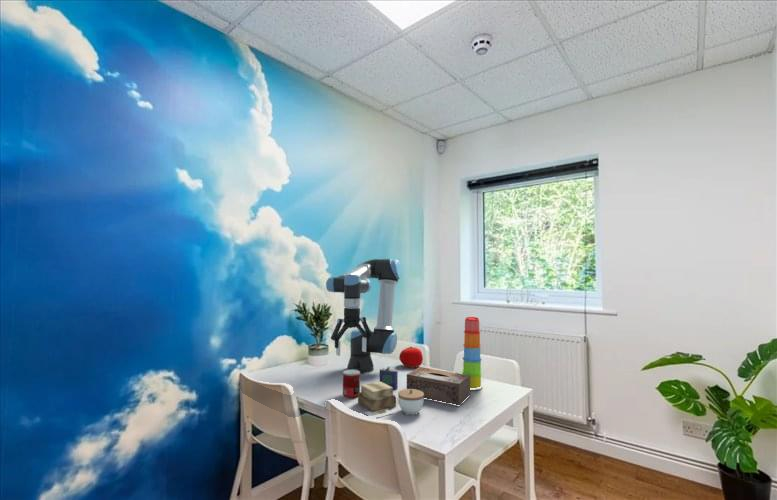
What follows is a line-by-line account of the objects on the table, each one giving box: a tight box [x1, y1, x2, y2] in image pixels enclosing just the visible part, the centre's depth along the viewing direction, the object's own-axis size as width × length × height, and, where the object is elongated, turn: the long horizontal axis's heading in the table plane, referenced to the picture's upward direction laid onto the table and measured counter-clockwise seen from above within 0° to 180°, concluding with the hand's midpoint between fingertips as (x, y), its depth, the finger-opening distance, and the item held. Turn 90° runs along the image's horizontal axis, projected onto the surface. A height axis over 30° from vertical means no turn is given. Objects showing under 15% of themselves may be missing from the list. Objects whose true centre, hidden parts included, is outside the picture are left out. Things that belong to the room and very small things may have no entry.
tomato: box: [398, 346, 424, 368], centre depth 220 cm, size 12×14×12 cm
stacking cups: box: [461, 316, 483, 388], centre depth 185 cm, size 10×10×35 cm
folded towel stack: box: [357, 380, 397, 412], centre depth 161 cm, size 12×12×8 cm
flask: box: [379, 366, 399, 391], centre depth 182 cm, size 9×3×11 cm, turn 74°
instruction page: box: [364, 409, 395, 418], centre depth 152 cm, size 10×7×1 cm
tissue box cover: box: [406, 366, 471, 405], centre depth 172 cm, size 26×14×10 cm, turn 59°
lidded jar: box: [397, 388, 425, 415], centre depth 154 cm, size 11×11×9 cm
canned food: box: [342, 369, 361, 399], centre depth 172 cm, size 8×8×11 cm
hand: (351, 353), depth 172 cm, fingers open, 13 cm apart
